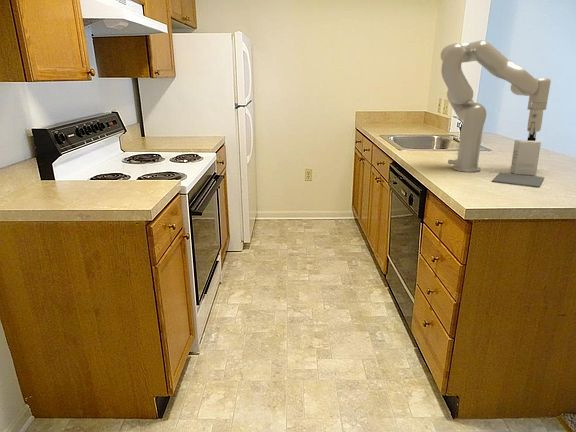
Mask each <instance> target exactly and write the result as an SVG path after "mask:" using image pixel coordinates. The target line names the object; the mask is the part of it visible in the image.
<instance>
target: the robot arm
mask: <svg viewBox="0 0 576 432" xmlns="http://www.w3.org/2000/svg"><path fill="white" fill-rule="evenodd" d="M440 60H441V61H442V63H441V71H440V72H441V77H442V80H443V82H444V84H445V86H446V87H447V91H446V98H447V101H448V103H449V104H450V105H451V108H452V109H453V111H454V113H455V114H456V116H457V117H458V119H459V120H460V121H462V124H461V129H460V133H459V142H458V150H457V157H456V158H457V159H455V160H454V159H448V160H447V164H449V165H453V166H452V169H453V170H455V171H459V172H465V173H477V172H480V171H481V169H482V168H481V167H480V166H479V158H480V157H479V156H480V151H481V145H482V137H483V130H484V125H485V122H486V118H487V110H486V107H485V106H484V105H483V104H481V103H478V102H474V100H473V98H474V90H473V88H472V86H471V85H470V83H469V80H468V79H467V78H466V76H465V74H464V72H463V68H462V63H469V62H470V63H471V62H477V63H478V64H480V66H482V67H483V68H484V69H485V70H487V72H489V73H490V75H492V76H493V77H496V78H498V79H502V80H504V81H506V82H508V83H509V84H510V90H511V92H512V93H513V94H514V95H516V96H524V97H525V96H526V97H527V96H529V97H528V102H527V109H526V110H528V111H529V113H528V120H527V128H526V130H527V132H528V136H527V140H526V141H537V140H536V139H537V138H536V137H537V133H538V132H540V131H541V130H542V125H543V123H542V122H543V116H544V111H545V110H547V105H548V100H549V94H550V88H551V82H552V81H551V79H550V78H547V77H545V78H543V77H541V78H539V77H538V78H535V77H534V76H533V75H531V73H529V72H528V71H527V70H525V68H523V67H522V66H520V65H518V64H517V63H515V62H513V60H511V59H508V58H507V57H506V56H505V55H503V54H502V53H501V51H499V50H498V49H497V48H496V47H494V45H492V44H491V43H490V42H488V41H487V40H485V39H484V40H477V41H473V42H467V43H451V44H448V45H446V46H445V47H443V49H441V51H440Z"/></svg>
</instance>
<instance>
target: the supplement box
mask: <svg viewBox="0 0 576 432" xmlns="http://www.w3.org/2000/svg"><path fill="white" fill-rule="evenodd" d="M541 145H542V142H541V141H538V140H535V141H527V140H517V139H516V140H514V144H513V151H512V158H511V165H510V171H509V172H511V174H518V175H528V176H536V175H537V171H538V165H539V158H540V150H541Z"/></svg>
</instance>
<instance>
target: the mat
mask: <svg viewBox="0 0 576 432" xmlns="http://www.w3.org/2000/svg"><path fill="white" fill-rule="evenodd" d="M544 179H545V177H543V176H536V175H524V174H514V173H507V172H499V173H497V175H496V176H495V177H494V178H493V179H492V180H491V182H492V183H497V184H505V185H514V186H522V187H523V186H524V187H532V188H541V185H542V184H543V182H544Z"/></svg>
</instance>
